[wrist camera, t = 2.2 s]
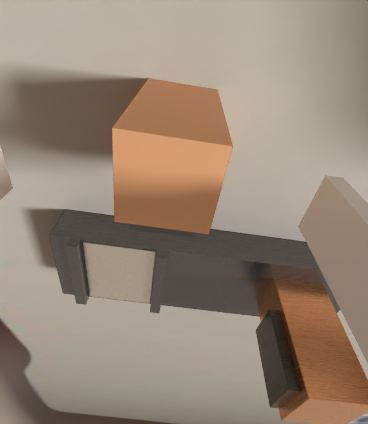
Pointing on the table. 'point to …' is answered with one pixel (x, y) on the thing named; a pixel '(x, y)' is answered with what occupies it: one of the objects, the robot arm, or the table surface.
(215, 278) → the rail
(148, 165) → the tall peach prism
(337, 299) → the robot arm
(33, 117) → the table surface
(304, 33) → the table surface
